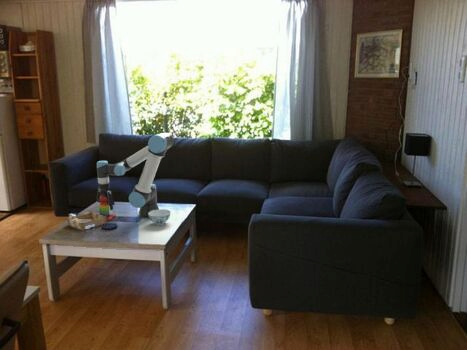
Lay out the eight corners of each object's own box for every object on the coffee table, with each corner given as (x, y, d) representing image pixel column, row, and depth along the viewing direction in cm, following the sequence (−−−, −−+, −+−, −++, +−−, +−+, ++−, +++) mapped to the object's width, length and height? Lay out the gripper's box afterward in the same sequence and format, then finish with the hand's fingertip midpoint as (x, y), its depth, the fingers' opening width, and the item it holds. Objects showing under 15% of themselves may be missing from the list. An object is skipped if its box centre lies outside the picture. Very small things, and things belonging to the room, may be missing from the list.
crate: (106, 223, 285) (106, 216, 284) (82, 231, 272) (81, 223, 271) (91, 218, 297) (91, 211, 296) (68, 225, 283) (67, 217, 282)
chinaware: (174, 220, 290) (174, 210, 288) (165, 228, 276) (164, 216, 274) (154, 219, 294) (154, 208, 292) (145, 226, 280) (144, 215, 278)
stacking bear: (109, 221, 291) (107, 196, 287) (96, 220, 293) (94, 195, 289) (116, 216, 301) (115, 192, 297) (104, 215, 303) (102, 191, 299)
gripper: (118, 184, 287) (120, 214, 291) (98, 179, 301) (101, 208, 306) (109, 186, 281) (111, 217, 286) (89, 181, 296) (92, 210, 301)
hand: (106, 212), depth 296 cm, fingers open, 11 cm apart
